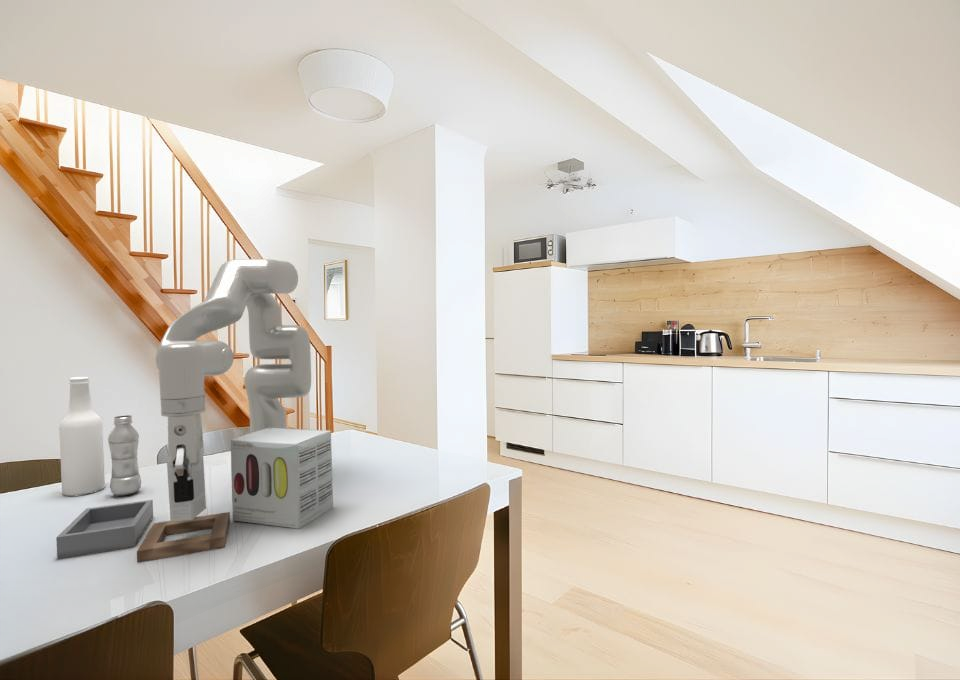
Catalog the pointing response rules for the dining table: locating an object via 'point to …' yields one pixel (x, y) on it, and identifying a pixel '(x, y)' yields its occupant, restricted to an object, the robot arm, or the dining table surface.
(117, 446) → the plastic bottle
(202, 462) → the skincare box
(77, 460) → the alcohol
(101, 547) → the tray
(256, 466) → the supplement box
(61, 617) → the dining table surface
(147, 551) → the brown square frame
